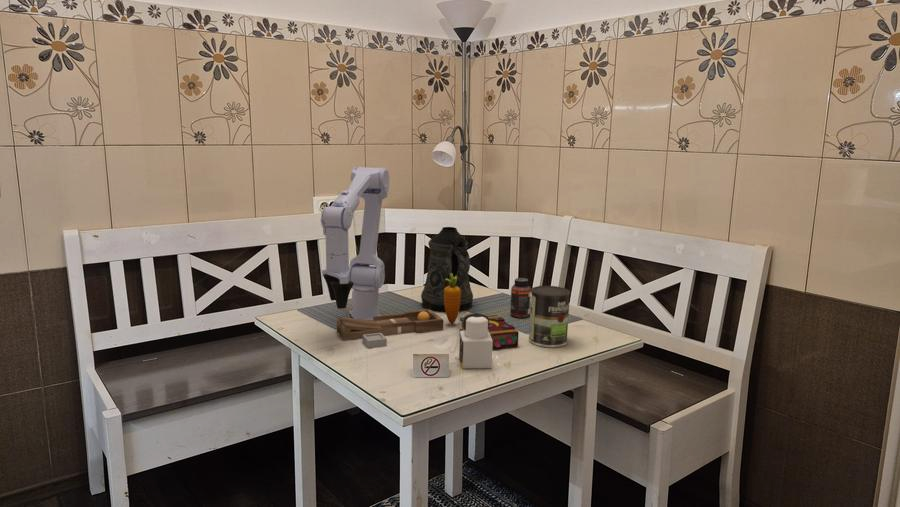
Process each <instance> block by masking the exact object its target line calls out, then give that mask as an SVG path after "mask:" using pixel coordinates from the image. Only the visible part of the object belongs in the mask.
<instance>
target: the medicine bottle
mask: <svg viewBox="0 0 900 507" xmlns="http://www.w3.org/2000/svg"><path fill="white" fill-rule="evenodd" d="M487 316H488V315H485V314H483V313H476V312H475V313H469V314H467V315H464V330H463V331H460V332H459V348H458V350H459V352H458V353H459V355H458V358H459V361H460V365H461V369H463V370H465V369H466V370H467V369H492V367H493V349H492V346H493V340H492V338H491V336H490V333H489V318H488V317H487Z"/></svg>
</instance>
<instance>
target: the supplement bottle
mask: <svg viewBox="0 0 900 507" xmlns="http://www.w3.org/2000/svg"><path fill="white" fill-rule="evenodd" d="M510 288H511V290H510V316H512V317H513V316H514V318H517V317H518V318H519V319H521V318H522V319H523V318H528V317H530V312H531V289H532V288H531V286H529V279H528V278H525V277H516V278H515V279H514V283H513V285H512V286H511V287H510Z"/></svg>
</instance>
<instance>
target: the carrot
mask: <svg viewBox="0 0 900 507" xmlns="http://www.w3.org/2000/svg"><path fill="white" fill-rule="evenodd" d="M450 277H451V280H452V281H451V280H449V279H447V278H446V279H445V280H446V281H448V282H449V284H450V286H448V287H446V288H445V289H444V305H445V311H446V313H445V315H446V317H447V320H448V323H449V324H450V325H451V326H453V325H454V324H455V322H456V320H457V319H458V317H459V314H460V312H459V309H460V302H461V289H460V288H459V287H458V286H455V284H456V281H457V276H455V277H453V274H452V273H450Z"/></svg>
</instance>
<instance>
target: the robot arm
mask: <svg viewBox="0 0 900 507" xmlns="http://www.w3.org/2000/svg"><path fill="white" fill-rule="evenodd" d="M389 175H390V174H389V171H388V169H387V168H386V167H367V166H364V167H363V166H354V167H353V169H352V170H351V174H350V183H349V186H348V188H347V189H343V190H342V191H341V192H340V193H339V194H338V196H337V197H336V198H335V200H334V201H333V203H331V205H330V206H329V205H328V206H326V207H324V208H323V209H322V211H321V218H320V224H321V227H322V229H323V230H322V233H323V236H324V237H325V265H326V266H325V269H321V274H322V276H323V279H324V281H325V282H326V286H327V289H328V295H329V298H330V301H332V302H333V301H335V304H336V308H337V309H338V310H339V309H340V310H341V309H346V308H347V305H348V301H349V297H350V296H349V295H350V293H351V290H352V293H351V310H349V311H348V314H349V315H350V314H351V315H350V316H351V318H355V319H365V320H373V317H375V316H382V315H381V313H380V312H379V310H380V309H379V304H380V303H379V301H380V300H379V299H380V298H379V297H380V294H379V293H380V292H379V289H380V288H382V287H383V285H384V283H385V279H386V274H385V273H386V272H385V263H384V261H383V260H382V259H381V258H379V257H378V255H377V251H378V250H377V249H378V242H379V241H378V240H379V232H380V221H381V213H382V212H381V210H382V203H383V200H385V199H386V198H388V194H389V186H390V176H389ZM360 198H362V199H363V200H364V209H363V217H362V225H361V226H362V227H361V236H360V245H359V253H358V254H357V255H356V256H355V257H353V258H352V259H351V260H349V259H350V258H349V229H350V228H351V226H352V222H353V218H354V213H355V211H356V210H357V209H358V207H359V205H360ZM349 261H350V263H349Z"/></svg>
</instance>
